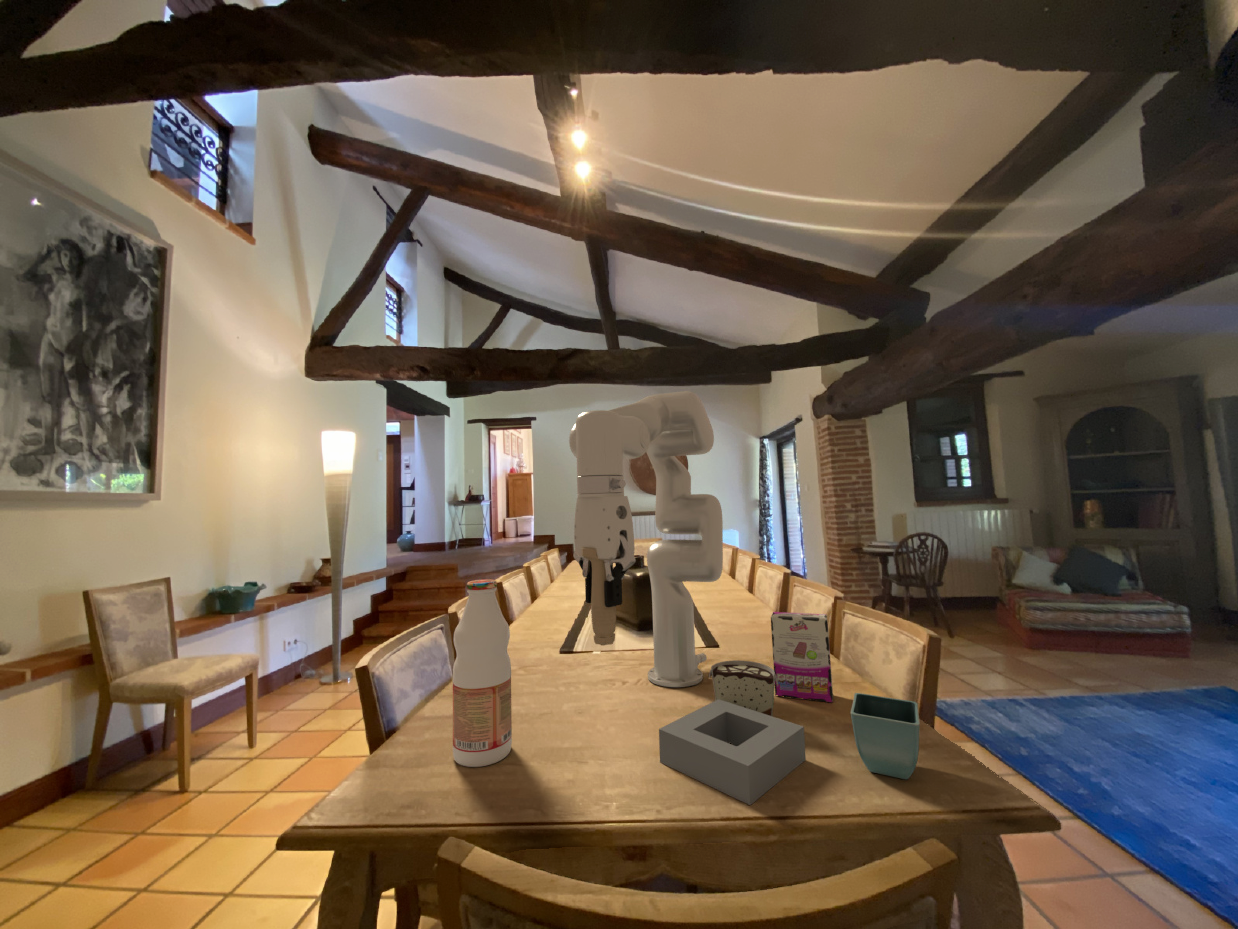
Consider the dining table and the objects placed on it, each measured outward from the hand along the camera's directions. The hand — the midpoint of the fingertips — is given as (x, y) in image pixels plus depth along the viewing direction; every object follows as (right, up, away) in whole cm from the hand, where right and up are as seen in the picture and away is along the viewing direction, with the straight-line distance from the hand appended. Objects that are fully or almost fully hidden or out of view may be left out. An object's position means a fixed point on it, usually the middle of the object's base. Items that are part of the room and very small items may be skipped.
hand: (603, 602), depth 78 cm
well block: (+20, -24, -1) cm, 32 cm away
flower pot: (+43, -24, -5) cm, 49 cm away
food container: (+26, -26, +13) cm, 39 cm away
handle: (0, -6, -1) cm, 6 cm away
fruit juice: (-20, -26, +3) cm, 33 cm away
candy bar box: (+41, -26, +24) cm, 54 cm away
